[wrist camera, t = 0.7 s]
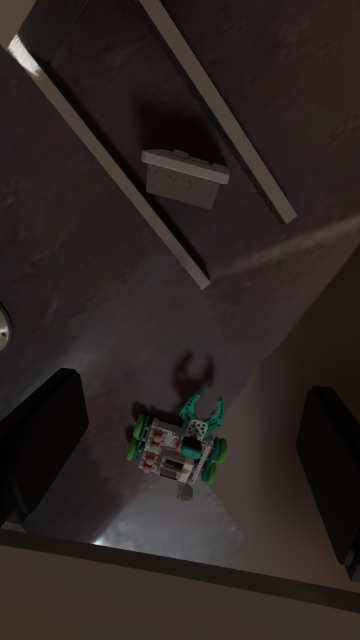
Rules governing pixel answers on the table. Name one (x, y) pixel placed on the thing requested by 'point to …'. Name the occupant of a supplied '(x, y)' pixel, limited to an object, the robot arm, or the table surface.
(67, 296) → the table surface
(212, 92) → the guide track
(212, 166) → the electrical switch
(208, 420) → the robot kit
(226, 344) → the table surface
